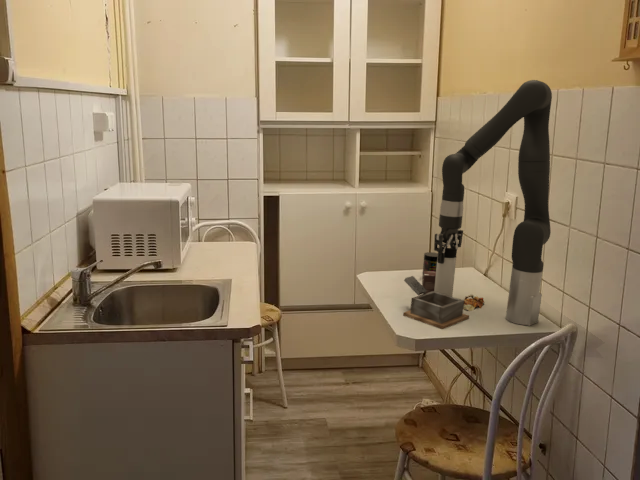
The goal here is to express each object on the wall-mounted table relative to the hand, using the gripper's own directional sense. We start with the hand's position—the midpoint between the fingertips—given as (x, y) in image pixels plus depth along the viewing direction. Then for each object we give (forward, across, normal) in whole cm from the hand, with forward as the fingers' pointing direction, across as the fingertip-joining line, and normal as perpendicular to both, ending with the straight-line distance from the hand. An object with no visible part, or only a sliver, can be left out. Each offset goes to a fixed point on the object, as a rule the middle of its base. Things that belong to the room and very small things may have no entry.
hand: (446, 261), depth 203 cm
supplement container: (+15, +19, +18) cm, 30 cm away
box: (+15, +6, +9) cm, 18 cm away
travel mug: (+15, 0, 0) cm, 15 cm away
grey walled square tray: (+15, -14, -7) cm, 22 cm away
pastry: (+15, +5, -8) cm, 18 cm away
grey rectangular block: (+7, -14, +2) cm, 16 cm away
